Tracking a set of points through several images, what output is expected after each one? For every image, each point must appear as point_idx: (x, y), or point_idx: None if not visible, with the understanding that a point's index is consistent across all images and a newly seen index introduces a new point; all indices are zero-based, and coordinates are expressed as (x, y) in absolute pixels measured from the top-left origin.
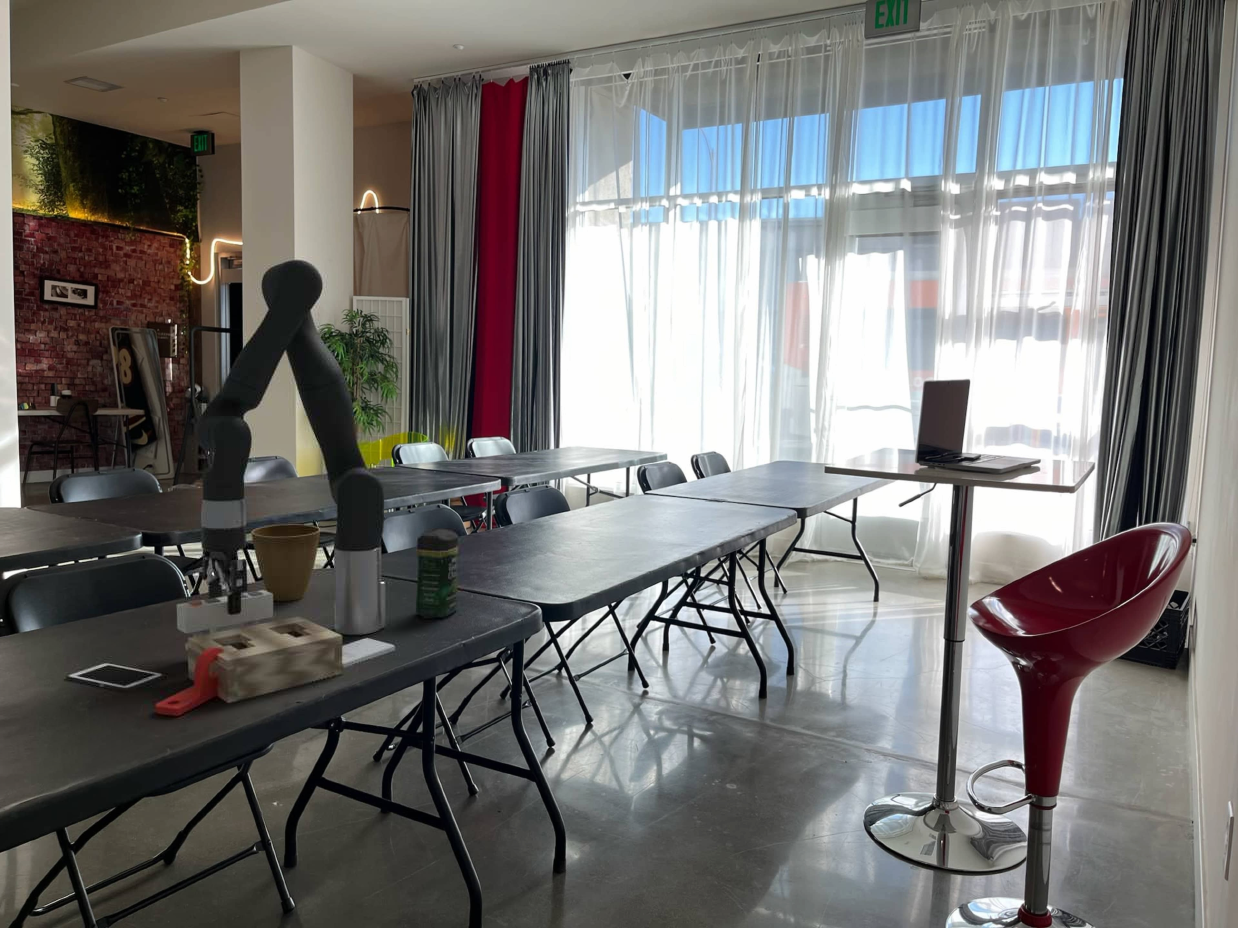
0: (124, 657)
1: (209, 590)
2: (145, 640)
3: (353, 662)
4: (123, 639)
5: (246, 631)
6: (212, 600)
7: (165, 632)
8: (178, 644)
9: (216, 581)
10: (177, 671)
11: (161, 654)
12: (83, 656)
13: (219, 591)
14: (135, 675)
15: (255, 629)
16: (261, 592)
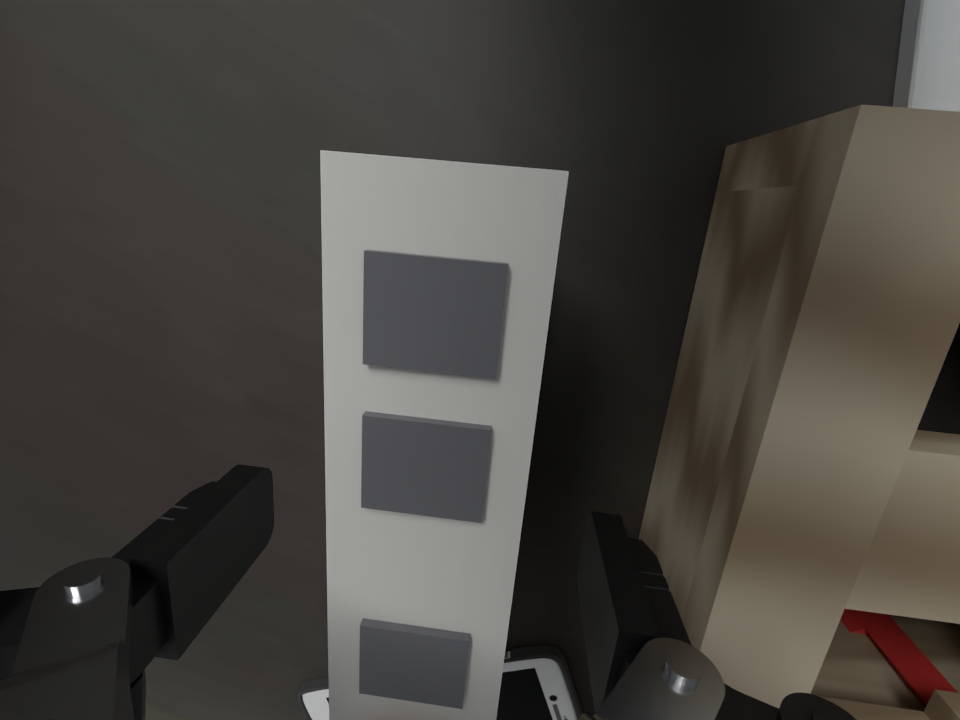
0: (252, 621)
1: (197, 626)
2: (87, 498)
3: None
4: (34, 537)
5: (835, 563)
6: (419, 670)
7: (13, 404)
8: (211, 448)
9: (131, 639)
10: (528, 596)
11: (298, 541)
12: (164, 679)
13: (213, 540)
14: None
15: (850, 510)
16: (413, 229)
